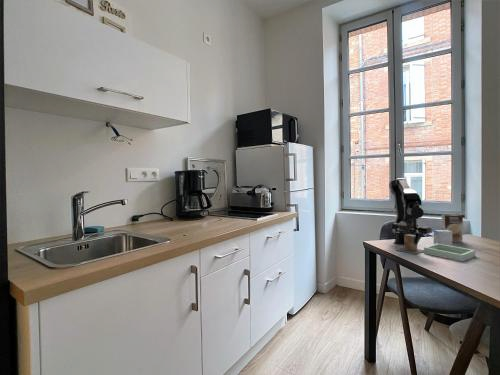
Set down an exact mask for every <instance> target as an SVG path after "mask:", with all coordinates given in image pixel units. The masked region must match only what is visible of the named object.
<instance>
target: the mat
mask: <svg viewBox="0 0 500 375" xmlns="http://www.w3.org/2000/svg"><path fill="white" fill-rule="evenodd" d="M396 251H398V252H401V253H404V254H405V253H407V254H411V255H414V256H417V255H419V254H422V253H424V249H419V248H417V250H416V251H409V250H405V249H404V247H401V248H397V249H396Z"/></svg>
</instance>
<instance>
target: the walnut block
mask: <svg viewBox="0 0 500 375" xmlns="http://www.w3.org/2000/svg"><path fill="white" fill-rule="evenodd" d="M403 246H404V247H403V248H404V249H405V250H409V251H416V250H417V249H418V244H417V245H415V234H412V233H411V234H407V235H405V236H404V245H403Z"/></svg>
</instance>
